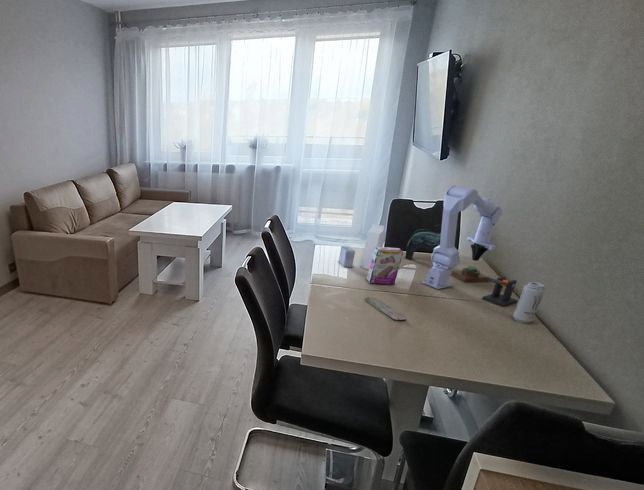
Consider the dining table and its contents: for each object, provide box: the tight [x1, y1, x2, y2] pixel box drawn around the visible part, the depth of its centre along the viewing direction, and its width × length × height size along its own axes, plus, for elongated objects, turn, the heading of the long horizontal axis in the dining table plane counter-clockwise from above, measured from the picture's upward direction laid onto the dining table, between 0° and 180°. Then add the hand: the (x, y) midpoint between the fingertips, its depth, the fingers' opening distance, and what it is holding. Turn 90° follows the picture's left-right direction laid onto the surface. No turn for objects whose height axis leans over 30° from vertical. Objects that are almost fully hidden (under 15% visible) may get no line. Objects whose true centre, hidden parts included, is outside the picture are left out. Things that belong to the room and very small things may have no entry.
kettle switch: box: [487, 277, 509, 288], centre depth 169 cm, size 11×5×2 cm, turn 116°
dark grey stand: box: [482, 276, 518, 308], centre depth 172 cm, size 10×8×10 cm
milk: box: [360, 223, 387, 271], centre depth 202 cm, size 6×6×22 cm
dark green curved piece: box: [404, 224, 442, 260], centre depth 213 cm, size 20×6×20 cm, turn 58°
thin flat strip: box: [365, 296, 406, 321], centre depth 164 cm, size 5×20×1 cm, turn 11°
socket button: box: [466, 265, 478, 272], centre depth 195 cm, size 4×4×2 cm
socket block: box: [450, 267, 490, 283], centre depth 196 cm, size 12×9×4 cm
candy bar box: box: [366, 246, 404, 286], centre depth 186 cm, size 11×5×16 cm, turn 84°
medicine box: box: [338, 245, 356, 268], centre depth 208 cm, size 8×4×9 cm, turn 179°
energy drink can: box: [512, 281, 546, 324], centre depth 155 cm, size 6×6×15 cm
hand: (475, 260), depth 193 cm, fingers closed
